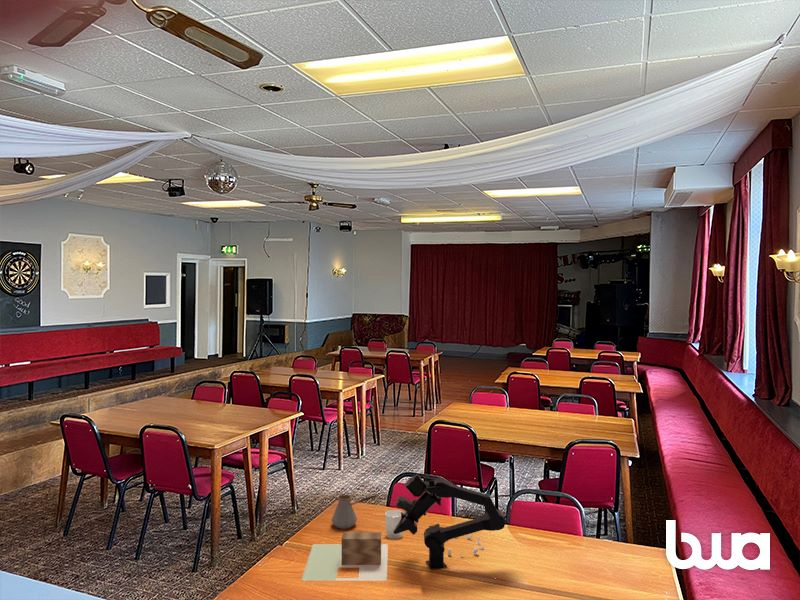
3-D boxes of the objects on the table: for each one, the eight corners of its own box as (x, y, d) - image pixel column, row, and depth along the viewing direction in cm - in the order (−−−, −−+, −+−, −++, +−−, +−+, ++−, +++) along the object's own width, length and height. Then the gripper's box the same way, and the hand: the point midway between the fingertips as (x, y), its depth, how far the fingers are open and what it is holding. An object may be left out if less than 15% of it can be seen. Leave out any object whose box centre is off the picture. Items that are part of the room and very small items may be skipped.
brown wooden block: (381, 557, 230) (381, 532, 229) (380, 564, 224) (380, 539, 223) (342, 557, 230) (342, 532, 229) (341, 564, 224) (341, 539, 223)
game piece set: (492, 553, 238) (492, 544, 237) (448, 562, 230) (448, 552, 230) (469, 534, 256) (469, 526, 255) (428, 542, 248) (428, 533, 248)
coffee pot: (328, 529, 260) (328, 496, 259) (335, 519, 271) (335, 487, 271) (374, 533, 255) (374, 499, 255) (380, 523, 267) (380, 490, 266)
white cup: (395, 541, 248) (395, 518, 247) (381, 536, 252) (381, 513, 252) (406, 535, 254) (407, 512, 254) (392, 530, 259) (392, 508, 258)
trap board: (387, 547, 242) (387, 544, 242) (386, 584, 212) (386, 580, 212) (312, 547, 242) (312, 544, 241) (301, 584, 212) (301, 580, 211)
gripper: (407, 482, 235) (380, 509, 236) (408, 498, 217) (378, 528, 217) (427, 501, 236) (399, 528, 236) (429, 519, 217) (399, 549, 217)
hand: (394, 532), depth 226 cm, fingers closed
